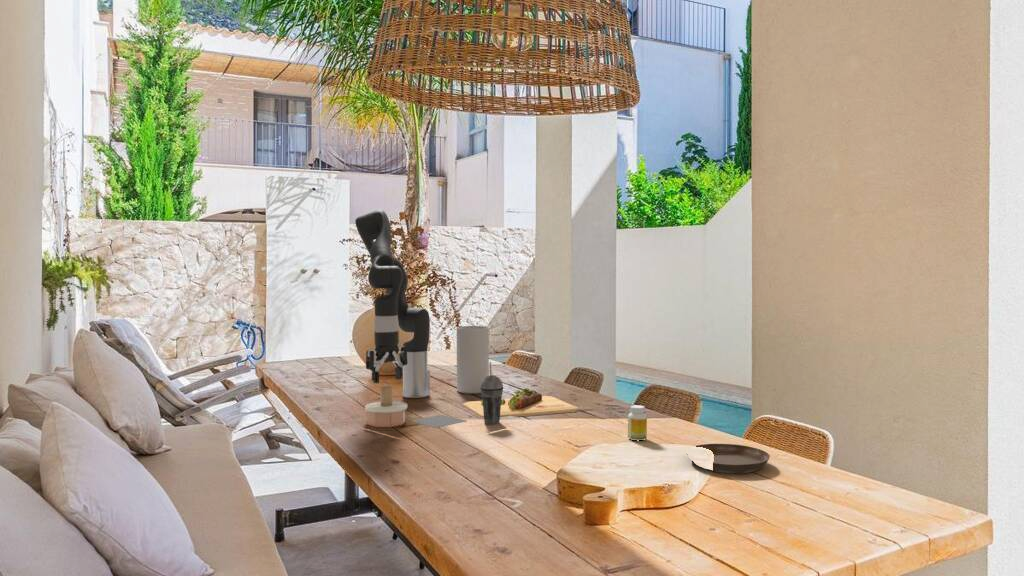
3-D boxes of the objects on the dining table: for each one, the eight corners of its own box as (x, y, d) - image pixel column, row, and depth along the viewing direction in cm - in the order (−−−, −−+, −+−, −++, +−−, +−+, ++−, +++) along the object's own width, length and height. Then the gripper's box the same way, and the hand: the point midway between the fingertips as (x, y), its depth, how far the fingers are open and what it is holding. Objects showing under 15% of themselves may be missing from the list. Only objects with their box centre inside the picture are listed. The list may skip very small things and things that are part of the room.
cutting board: (483, 421, 238) (483, 398, 238) (461, 407, 260) (461, 386, 260) (579, 413, 251) (580, 391, 251) (551, 400, 273) (551, 380, 272)
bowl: (390, 418, 239) (390, 403, 239) (411, 424, 232) (411, 408, 231) (361, 424, 231) (361, 408, 231) (382, 430, 224) (382, 413, 223)
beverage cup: (507, 423, 233) (507, 360, 232) (497, 428, 226) (497, 363, 225) (486, 421, 236) (486, 359, 235) (476, 426, 229) (476, 362, 228)
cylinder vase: (488, 394, 281) (488, 329, 280) (455, 394, 281) (455, 329, 280) (489, 388, 294) (489, 325, 293) (458, 388, 294) (458, 325, 293)
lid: (391, 402, 241) (390, 381, 240) (415, 408, 231) (415, 386, 231) (357, 408, 231) (357, 386, 231) (381, 414, 222) (381, 391, 222)
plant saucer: (668, 461, 192) (668, 448, 192) (726, 450, 202) (726, 438, 202) (727, 482, 174) (727, 468, 174) (787, 469, 184) (787, 456, 184)
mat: (441, 416, 243) (441, 414, 243) (467, 422, 234) (467, 420, 234) (409, 422, 234) (409, 420, 234) (436, 429, 225) (435, 427, 225)
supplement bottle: (624, 438, 214) (624, 405, 214) (639, 436, 217) (639, 403, 216) (635, 442, 210) (635, 409, 209) (650, 440, 212) (650, 407, 212)
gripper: (397, 327, 238) (398, 376, 239) (360, 330, 228) (361, 382, 228) (412, 328, 233) (412, 379, 233) (374, 332, 222) (375, 385, 223)
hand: (387, 381), depth 231 cm, fingers open, 8 cm apart
